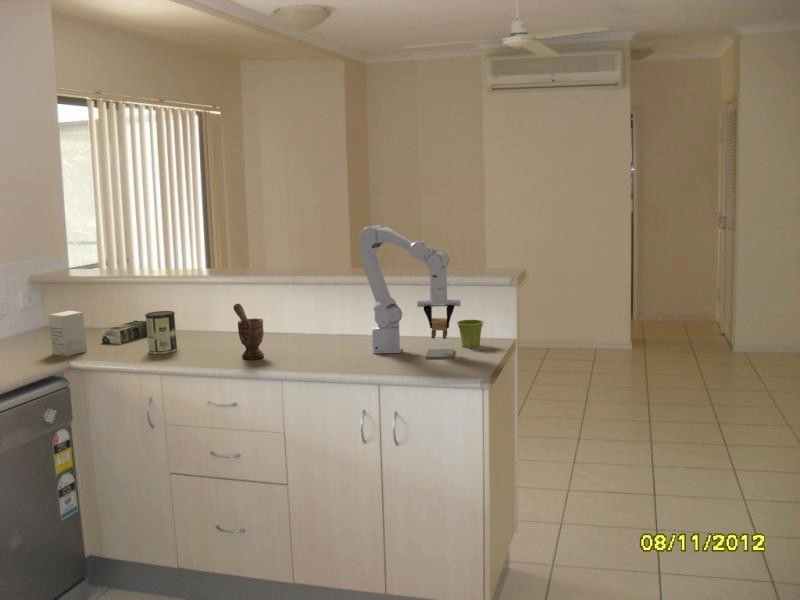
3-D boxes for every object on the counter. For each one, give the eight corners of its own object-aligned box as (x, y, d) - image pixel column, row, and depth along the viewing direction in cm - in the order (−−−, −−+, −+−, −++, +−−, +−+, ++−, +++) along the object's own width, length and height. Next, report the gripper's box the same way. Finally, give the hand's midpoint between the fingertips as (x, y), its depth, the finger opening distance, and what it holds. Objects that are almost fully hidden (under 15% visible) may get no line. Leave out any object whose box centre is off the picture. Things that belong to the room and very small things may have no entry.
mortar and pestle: (258, 362, 299) (254, 304, 296) (233, 362, 300) (229, 304, 297) (268, 355, 310) (264, 298, 307) (244, 355, 312) (240, 299, 309)
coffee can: (167, 347, 331) (164, 309, 329) (182, 350, 324) (180, 312, 322) (142, 351, 324) (139, 313, 321) (158, 355, 317) (155, 316, 314)
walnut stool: (432, 335, 303) (432, 317, 303) (447, 335, 303) (447, 318, 302) (431, 338, 297) (431, 320, 296) (446, 338, 297) (446, 321, 296)
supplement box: (73, 349, 333) (69, 310, 330) (87, 351, 328) (84, 311, 325) (51, 354, 325) (47, 314, 323) (66, 356, 320) (62, 315, 318)
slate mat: (425, 359, 295) (425, 356, 295) (428, 351, 307) (428, 349, 307) (453, 358, 294) (452, 356, 294) (454, 351, 306) (454, 348, 306)
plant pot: (482, 349, 308) (482, 324, 307) (455, 348, 310) (455, 324, 308) (485, 343, 317) (485, 319, 316) (459, 343, 319) (458, 319, 317)
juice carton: (119, 345, 339) (118, 329, 338) (99, 344, 343) (98, 328, 342) (154, 335, 357) (153, 320, 356) (135, 334, 361) (133, 319, 360)
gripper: (415, 289, 294) (417, 330, 296) (459, 289, 292) (460, 329, 294) (417, 286, 301) (418, 326, 303) (460, 286, 299) (461, 325, 301)
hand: (439, 327), depth 299 cm, fingers closed on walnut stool, 5 cm apart
